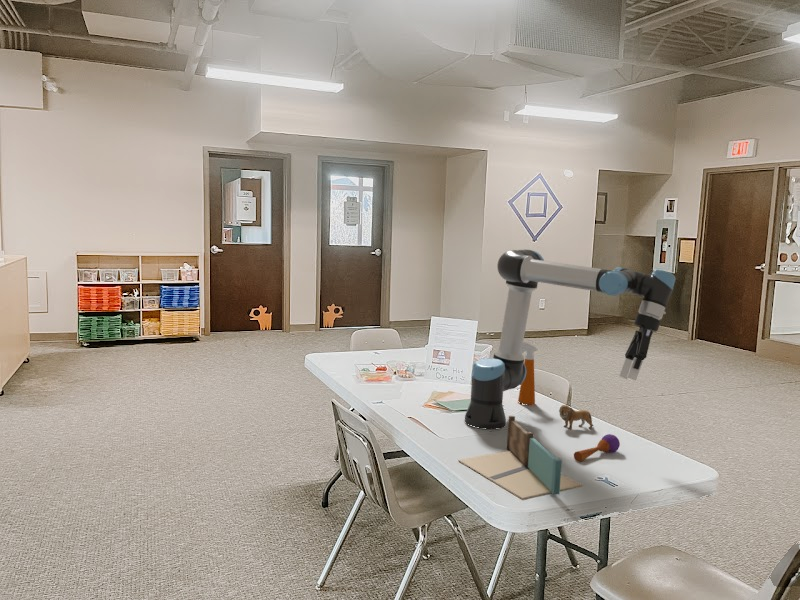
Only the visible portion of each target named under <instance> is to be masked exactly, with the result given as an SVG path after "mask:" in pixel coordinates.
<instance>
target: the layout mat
mask: <svg viewBox="0 0 800 600" xmlns="http://www.w3.org/2000/svg"><path fill="white" fill-rule="evenodd" d="M457 461H458V462H459V461H460V462H459V463H460V464H462V463H463V464H462V465H464V464H465V465H464V466H465V467H467V466H468V467H467V468H469V467H470V468H469V469H471V470H472V469H473V471H474V470H475V471H474V472H476V473H477V472H478V473H477V474H479V473H480V474H479V475H480V476H482V475H483V476H482V477H484V476H485V477H484V478H486V479H487V478H488V479H487V480H489V481H491V482H492V481H493V482H492V483H494V484H496V485H497V486H499V487H501V488H502V489H504V490H506V491H508V492H509V493H511V494H513V495H514V496H515V497H518V498H519V499H520V500H525V499H529V498H530V499H531V498H534V497H538V496H542V495H547V494H552V493H551V491H550V490H549V488H548V487H547V486H546V485H545V484H544V483H543V482H542V481H541V480H540V479H539V478H538V477H537V476H536V475H535V474H534V473H533V472H532V471H531V470H530V469H529V468H527V467H525V465H524V464H523V463H522V462H521V461H520V460H519V459H518V458H517V457H516V455H515V454H514V453H513V452H512V451H511V450H507V451H502V452H495V453H490V454H483V455H479V456H473V457H466V458H460V459H458V460H457ZM582 486H583V484H582V483H579V482H577V481H576V480H574V479H571V478H569V477H567V476H566V475H564V474H562V473H561V479H560V492H561V491H566V490H570V489H574V488H578V487H582Z"/></svg>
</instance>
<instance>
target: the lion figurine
mask: <svg viewBox="0 0 800 600" xmlns="http://www.w3.org/2000/svg"><path fill="white" fill-rule="evenodd" d="M558 412H559V417H560V418H561V419H562V420H563V421H564V424H565V425H563V428H567V429H568V430H569V431H570V430H572V429H573V423H574V422H577V421H580V420H581V424H579V425H578V427H579V428H581V427H583V426H584V425H585V424H588V425H589V426H588V429H589V430H593V427H594V424H593V422H592V421H593V420H592V419H593V418H592V415H591V413H590V411H588V410H586V409H585V410H584V409H582V410H575V409H573V408H572V407H570V406H569V405H566V404H562V405H561V406H560V407H559V410H558Z"/></svg>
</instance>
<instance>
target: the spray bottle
mask: <svg viewBox="0 0 800 600" xmlns="http://www.w3.org/2000/svg"><path fill="white" fill-rule="evenodd" d="M537 351H538V348H537V347H536V346H534V345H532V344H530V343H528V342H526V341H523V346H522V351H521V353H522V354H524V352H525V356H524V365H525V366H526V377H525V379H524V381H523V382H522V383H521V384H520V385H519V386H520V387H519V392H518V394H519V395H518V400H517V402H518V401H519V402H520V403H523V404H527V405H526V406H534V405H536V404H535V403H536V393H535V388H536V387H535V354H534V352H537Z"/></svg>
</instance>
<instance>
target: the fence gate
mask: <svg viewBox="0 0 800 600" xmlns="http://www.w3.org/2000/svg"><path fill="white" fill-rule="evenodd" d="M562 463H563V460H562V459H561V458H559V457H558V458H556V457H555V456H554V455H553V454H552V453H551V452H550V451H549V450H547V448H546V447H544V446H543V445H542V444H541V443H540V442H539V441H538V440H537V439H536V438H534V437H533V438H530V445H529V459H528V468H529V469H530V470H531V471H532V472H533V473H534V474H535V475H536V476H537V477H538V478H539V479H540V480H541V481H542V482H543V483H544V484H545V485H546V486H547V487H548V488H549V490H550V491H551V493H550V494H552V495H560V492H561V491H560V479H561V474H562Z"/></svg>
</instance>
